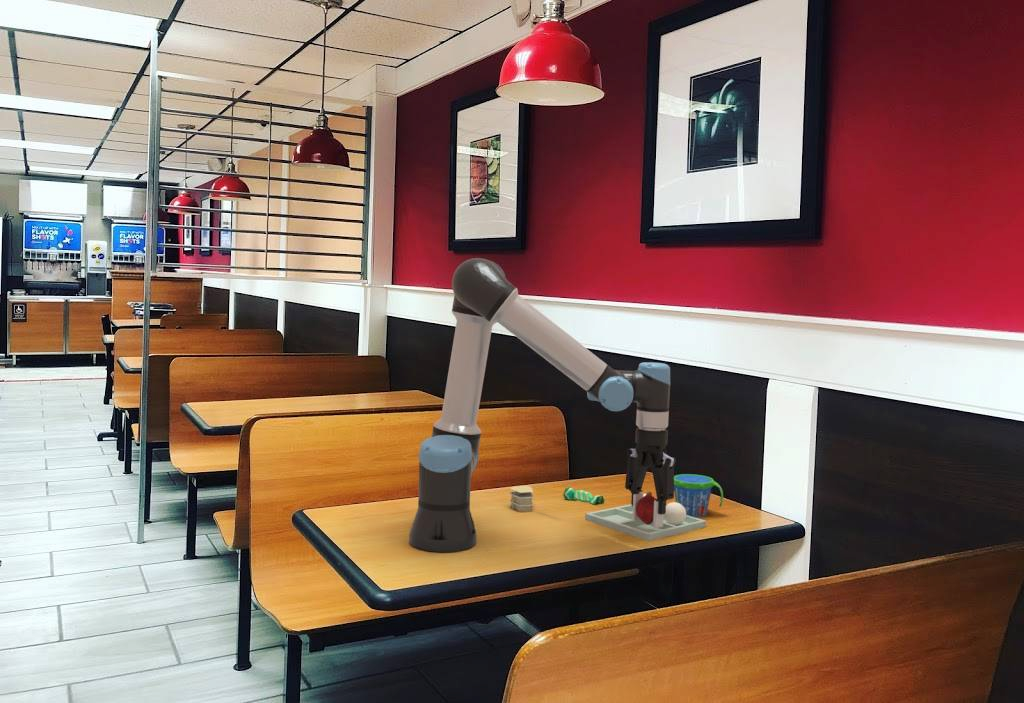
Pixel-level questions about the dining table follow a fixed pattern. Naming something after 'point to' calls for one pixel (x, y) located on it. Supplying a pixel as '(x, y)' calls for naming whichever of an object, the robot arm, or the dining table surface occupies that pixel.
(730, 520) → the dining table surface
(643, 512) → the onion
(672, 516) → the egg far right
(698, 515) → the snack cup
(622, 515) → the egg tray
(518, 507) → the layered cracker stack
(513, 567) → the dining table surface
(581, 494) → the candy
